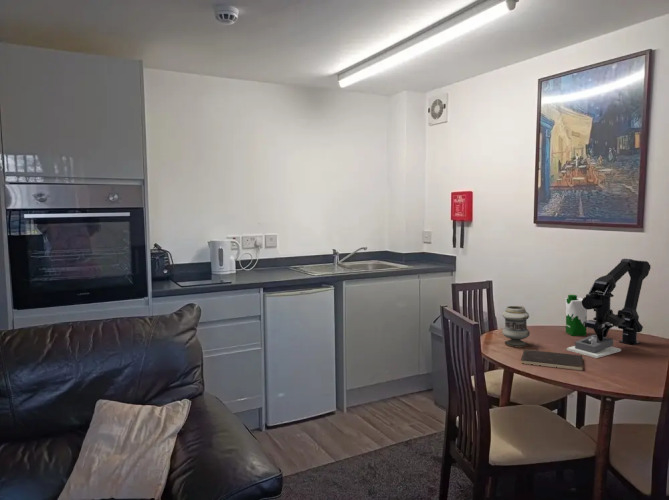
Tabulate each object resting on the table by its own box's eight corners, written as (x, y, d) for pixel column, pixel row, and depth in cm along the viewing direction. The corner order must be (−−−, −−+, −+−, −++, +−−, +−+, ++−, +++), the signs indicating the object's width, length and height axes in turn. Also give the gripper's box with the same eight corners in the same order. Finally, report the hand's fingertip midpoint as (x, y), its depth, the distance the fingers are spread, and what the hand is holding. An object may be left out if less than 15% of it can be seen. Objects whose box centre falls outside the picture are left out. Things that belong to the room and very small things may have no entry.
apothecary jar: (499, 340, 230) (499, 304, 229) (523, 340, 230) (524, 304, 228) (507, 347, 218) (507, 309, 216) (533, 347, 218) (533, 309, 216)
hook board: (590, 343, 222) (591, 331, 221) (620, 351, 209) (621, 337, 209) (566, 350, 213) (567, 337, 212) (597, 358, 201) (597, 344, 200)
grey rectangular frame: (593, 340, 218) (593, 334, 218) (613, 345, 210) (613, 339, 210) (575, 348, 212) (574, 342, 211) (594, 353, 204) (594, 346, 203)
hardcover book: (582, 372, 186) (582, 366, 186) (520, 364, 196) (520, 359, 196) (582, 360, 200) (582, 354, 200) (524, 353, 210) (524, 348, 210)
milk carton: (562, 331, 243) (563, 293, 241) (580, 331, 243) (581, 293, 241) (571, 336, 234) (572, 297, 233) (589, 336, 234) (590, 296, 232)
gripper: (608, 313, 201) (607, 348, 202) (633, 307, 210) (632, 341, 211) (583, 308, 211) (583, 342, 212) (608, 303, 220) (607, 336, 221)
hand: (602, 340), depth 214 cm, fingers closed on grey rectangular frame, 2 cm apart
